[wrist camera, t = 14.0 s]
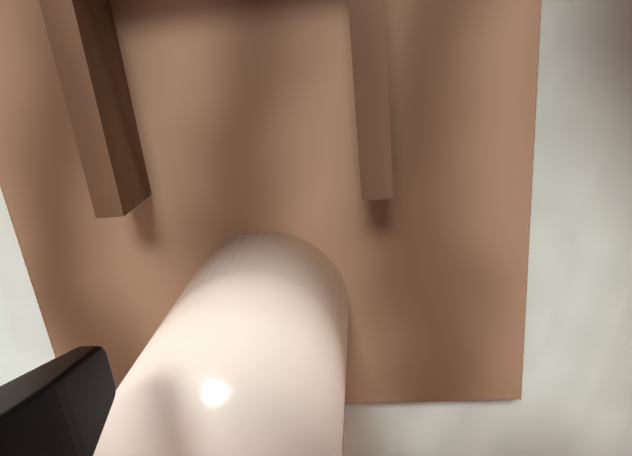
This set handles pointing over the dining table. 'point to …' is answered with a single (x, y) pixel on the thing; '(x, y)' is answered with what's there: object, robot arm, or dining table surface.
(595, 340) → the dining table surface
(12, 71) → the dock
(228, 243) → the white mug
